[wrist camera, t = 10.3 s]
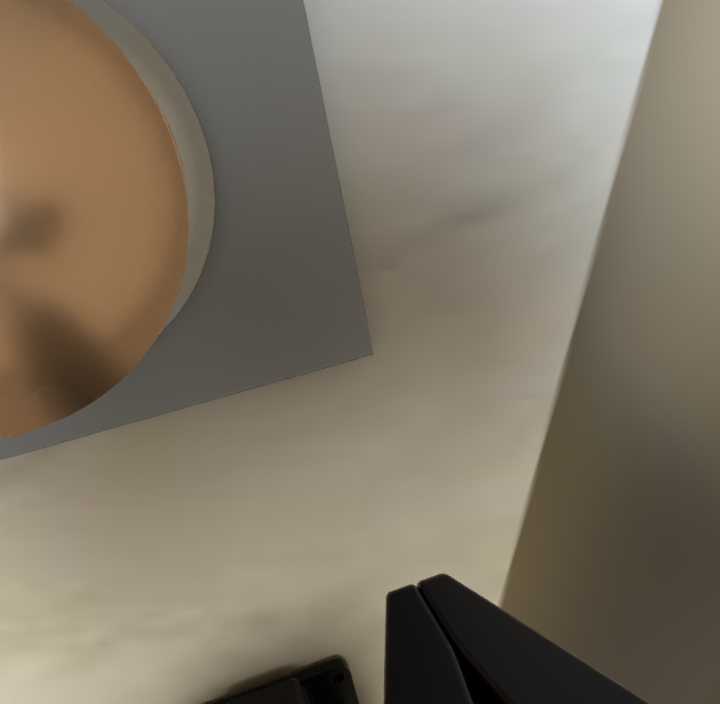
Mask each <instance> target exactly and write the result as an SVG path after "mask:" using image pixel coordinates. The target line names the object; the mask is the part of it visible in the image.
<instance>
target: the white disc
mask: <svg viewBox="0 0 720 704" xmlns="http://www.w3.org/2000/svg"><path fill="white" fill-rule="evenodd" d="M71 1H72V2H73V3H75V4H76V5H77V6H78V7H79V8H81V9H82V10H83V11H84V12H85V13H87V14H88V15H89V16H90V17H91V18H92V19H93V20H94V22H95V23H96V24H97V25H98V26H99V27H100V28H101V29H102V30H103V31H104V32H105V33H106V34H107V35H108V36H109V37H110V38H111V39H112V40H113V41H114V42H115V43H116V45H117V46H118V47H119V49H120V50H121V51H122V53H123V54H124V55H125V56H126V58H127V59H128V60H129V62H130V63H131V64H132V66H133V67H134V68H135V69H136V71H137V72H138V73H139V75H140V76H141V77H142V79H143V80H144V82H145V83H146V84H147V86H148V88H149V89H150V91H151V93H152V94H153V96H154V98H155V99H156V101H157V103H158V104H159V106H160V108H161V109H162V111H163V113H164V116H165V118H166V120H167V122H168V125H169V127H170V129H171V131H172V134H173V136H174V138H175V142H176V145H177V148H178V151H179V155H180V158H181V161H182V165H183V171H184V177H185V182H186V188H187V201H188V224H189V235H188V246H187V257H186V264H185V268H184V272H183V277H182V281H181V285H180V289H179V292H178V295H177V297H176V300H175V302H174V305H173V308H172V310H171V313H170V315H169V317H168V319H167V321H166V323H165V325H164V326H163V328H162V330H161V332H162V331H163V330H164V329H165V328H166V326H167V325H168V324H169V323H170V322H171V321H172V320H173V319H174V318H175V317H176V315H177V314H178V312H179V311H180V309H181V308H182V307H183V305H184V304H185V302H186V301H187V299H188V298H189V296H190V295H191V293H192V291H193V289H194V287H195V285H196V283H197V281H198V279H199V277H200V275H201V272H202V269H203V266H204V263H205V260H206V257H207V254H208V251H209V246H210V241H211V236H212V231H213V225H214V207H215V195H214V181H213V171H212V166H211V162H210V157H209V152H208V147H207V144H206V141H205V138H204V135H203V132H202V129H201V126H200V123H199V120H198V118H197V116H196V113H195V111H194V109H193V107H192V105H191V103H190V101H189V99H188V97H187V95H186V92H185V91H184V89H183V88H182V86H181V84H180V83H179V81H178V80H177V78H176V77H175V75H174V73H173V72H172V70H171V69H170V67H169V66H168V64H167V63H166V62H165V61H164V59H163V58H162V57H161V56H160V54H159V53H158V52H157V51H156V49H155V48H154V47H153V46H152V44H151V43H150V42H149V41H148V40H147V39H146V38H145V37H144V36H143V35H142V34H141V33H140V32H139V31H138V30H137V29H136V28H135V27H134V26H133V25H132V24H131V23H130V22H129V21H128V20H127V19H126V18H125V17H124V16H123V15H121V14H120V13H119V12H117V11H116V10H115V9H114V8H112V7H111V6H110V5H109V4H107V3H106V2H105V1H103V0H71ZM161 332H160V333H161ZM160 333H159V334H160Z"/></svg>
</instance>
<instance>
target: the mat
mask: <svg viewBox="0 0 720 704" xmlns="http://www.w3.org/2000/svg"><path fill="white" fill-rule="evenodd" d="M103 1H105V2H106V3H107V4H109V5H110V6H111V7H112V8H114V9H115V10H116V11H117V12H119V13H120V14H121V15H123V16H124V17H125V18H126V19H127V20H128V21H129V22H130V23H131V24H132V25H133V26H134V27H135V28H136V29H137V30H138V31H139V32H140V33H141V34H142V35H143V36H144V37H145V38H146V39H147V40H148V41H149V42H150V43H151V44H152V46H153V47H154V48H155V49H156V51H157V52H158V53H159V54H160V56H161V57H162V58H163V59H164V61H165V62H166V63H167V64H168V66H169V67H170V69H171V70H172V72H173V73H174V75H175V77H176V78H177V80H178V81H179V83H180V84H181V86H182V88H183V89H184V91H185V92H186V95H187V97H188V99H189V101H190V103H191V105H192V107H193V109H194V111H195V113H196V116H197V118H198V120H199V123H200V126H201V129H202V132H203V135H204V138H205V141H206V144H207V147H208V152H209V157H210V162H211V166H212V171H213V181H214V195H215V207H214V225H213V231H212V236H211V241H210V246H209V251H208V254H207V257H206V260H205V263H204V266H203V269H202V272H201V275H200V277H199V279H198V281H197V283H196V285H195V287H194V289H193V291H192V293H191V295H190V296H189V298H188V299H187V301H186V302H185V304H184V305H183V307H182V308H181V309H180V311H179V312H178V314H177V315H176V317H175V318H174V319H173V320H172V321H171V322H170V323H169V324H168V325H167V326H166V328H165V329H164V330H163V331H162V332H161V333H160V334H159V335H158V337H157V339H156V341H155V342H154V343H153V345H152V346H151V347H150V349H149V350H148V351H147V352H146V354H145V355H144V356H143V358H142V359H141V360H140V362H139V363H138V364H137V365H136V366H135V367H134V368H133V369H132V370H131V371H130V372H129V373H128V374H127V375H126V376H125V377H124V378H123V379H122V380H121V381H120V382H119V383H118V384H117V385H115V386H114V387H113V388H111V389H110V390H109V391H108V392H106V393H105V394H104V395H102V396H101V397H100V398H98V399H97V400H96V401H94V402H92V403H91V404H89V405H87V406H86V407H84V408H82V409H80V410H79V411H77V412H75V413H74V414H72V415H70V416H68V417H66V418H63V419H61V420H59V421H56V422H54V423H52V424H49V425H47V426H45V427H42V428H39V429H36V430H32V431H29V432H25V433H22V434H19V435H15V436H12V437H7V438H1V439H0V460H2V459H6V458H9V457H13V456H16V455H20V454H23V453H27V452H31V451H34V450H38V449H41V448H45V447H48V446H52V445H55V444H59V443H62V442H66V441H69V440H73V439H76V438H80V437H83V436H87V435H91V434H94V433H98V432H101V431H105V430H108V429H112V428H115V427H119V426H122V425H126V424H129V423H133V422H136V421H140V420H143V419H147V418H151V417H154V416H158V415H161V414H165V413H168V412H172V411H175V410H179V409H182V408H186V407H189V406H193V405H196V404H200V403H204V402H207V401H211V400H214V399H218V398H221V397H225V396H228V395H232V394H235V393H239V392H242V391H246V390H249V389H253V388H256V387H260V386H264V385H267V384H271V383H274V382H278V381H281V380H285V379H288V378H292V377H295V376H299V375H302V374H306V373H309V372H313V371H316V370H320V369H324V368H327V367H331V366H334V365H338V364H341V363H345V362H348V361H352V360H355V359H359V358H362V357H366V356H369V355H373V350H372V345H371V340H370V335H369V330H368V325H367V320H366V315H365V310H364V305H363V300H362V295H361V290H360V285H359V280H358V275H357V270H356V265H355V260H354V255H353V249H352V244H351V239H350V234H349V229H348V224H347V219H346V214H345V209H344V204H343V199H342V194H341V189H340V184H339V179H338V174H337V169H336V164H335V159H334V154H333V149H332V144H331V139H330V134H329V129H328V123H327V118H326V113H325V108H324V103H323V98H322V93H321V88H320V83H319V78H318V73H317V68H316V63H315V58H314V53H313V48H312V43H311V38H310V33H309V28H308V23H307V18H306V13H305V8H304V3H303V0H103Z"/></svg>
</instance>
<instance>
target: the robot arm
mask: <svg viewBox="0 0 720 704" xmlns="http://www.w3.org/2000/svg"><path fill="white" fill-rule="evenodd" d="M337 672H340V673H338V674H335V673H337ZM333 674H335V675H333ZM214 704H359V703H358V699H357V695H356V692H355V688H354V684H353V680H352V677H351V673H350V670H349V666H348V664H347V662H346V661H344V660H343V659H334V660H331V661H328V662H325V663H323V664H320V665H317V666H315V667H312V668H309V669H306V670H304V671H301V672H298V673H296V674H293V675H290V676H288V677H285V678H282V679H279V680H277V681H274V682H271V683H269V684H266V685H263V686H260V687H258V688H255V689H252V690H250V691H247V692H244V693H241V694H239V695H236V696H233V697H231V698H228V699H225V700H223V701H220V702H217V703H214ZM384 704H651V703H649V702H648V701H646V700H645V699H643V698H641V697H640V696H638V695H637V694H635V693H633V692H632V691H630V690H629V689H627V688H626V687H624V686H623V685H620V684H619V683H618V682H616V681H615V680H613V679H611V678H610V677H608V676H607V675H605V674H603V673H602V672H600V671H599V670H597V669H596V668H594V667H592V666H591V665H589V664H587V663H586V662H585V661H583V660H581V659H580V658H578V657H577V656H575V655H574V654H572V653H570V652H569V651H567V650H566V649H564V648H563V647H561V646H559V645H558V644H556V643H555V642H553V641H551V640H550V639H548V638H547V637H545V636H544V635H542V634H540V633H539V632H537V631H536V630H534V629H532V628H531V627H529V626H528V625H526V624H524V623H523V622H521V621H520V620H518V619H517V618H515V617H514V616H512V615H510V614H509V613H507V612H506V611H504V610H502V609H501V608H499V607H498V606H496V605H495V604H493V603H491V602H490V601H488V600H487V599H485V598H484V597H482V596H480V595H479V594H477V593H476V592H474V591H472V590H471V589H469V588H468V587H466V586H465V585H463V584H461V583H460V582H458V581H457V580H455V579H454V578H452V577H450V576H449V575H447V574H438V575H436V576H433V577H430V578H427V579H424V580H422V581H420V582H419V583H418V584H417V587H416V586H415V585H412V584H411V585H407V586H405V587H402V588H399V589H396V590H393V591H391V592H389V593H388V594H387V596H386V621H385V663H384Z"/></svg>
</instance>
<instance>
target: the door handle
mask: <svg viewBox="0 0 720 704" xmlns="http://www.w3.org/2000/svg"><path fill="white" fill-rule="evenodd" d="M188 235H189V224H188V201H187V188H186V182H185V177H184V171H183V165H182V161H181V158H180V155H179V151H178V148H177V145H176V142H175V138H174V136H173V134H172V131H171V129H170V127H169V125H168V122H167V120H166V118H165V116H164V113H163V111H162V109H161V108H160V106H159V104H158V103H157V101H156V99H155V98H154V96H153V94H152V93H151V91H150V89H149V88H148V86H147V84H146V83H145V82H144V80H143V79H142V77H141V76H140V75H139V73H138V72H137V71H136V69H135V68H134V67H133V66H132V64H131V63H130V62H129V60H128V59H127V58H126V56H125V55H124V54H123V53H122V51H121V50H120V49H119V47H118V46H117V45H116V43H115V42H114V41H113V40H112V39H111V38H110V37H109V36H108V35H107V34H106V33H105V32H104V31H103V30H102V29H101V28H100V27H99V26H98V25H97V24H96V23H95V22H94V20H93V19H92V18H91V17H90V16H89V15H88V14H87V13H85V12H84V11H83V10H82V9H81V8H79V7H78V6H77V5H76V4H75V3H73V2H72V1H71V0H0V439H1V438H7V437H12V436H15V435H19V434H22V433H25V432H29V431H32V430H36V429H39V428H42V427H45V426H47V425H49V424H52V423H54V422H56V421H59V420H61V419H63V418H66V417H68V416H70V415H72V414H74V413H75V412H77V411H79V410H80V409H82V408H84V407H86V406H87V405H89V404H91V403H92V402H94V401H96V400H97V399H98V398H100V397H101V396H102V395H104V394H105V393H106V392H108V391H109V390H110V389H111V388H113V387H114V386H115V385H117V384H118V383H119V382H120V381H121V380H122V379H123V378H124V377H125V376H126V375H127V374H128V373H129V372H130V371H131V370H132V369H133V368H134V367H135V366H136V365H137V364H138V363H139V362H140V360H141V359H142V358H143V356H144V355H145V354H146V352H147V351H148V350H149V349H150V347H151V346H152V345H153V343H154V342H155V341H156V339H157V337H158V335H159V333H160V332H161V330H162V328H163V326H164V325H165V323H166V321H167V319H168V317H169V315H170V313H171V310H172V308H173V305H174V302H175V300H176V297H177V295H178V292H179V289H180V285H181V281H182V277H183V272H184V268H185V264H186V257H187V246H188Z"/></svg>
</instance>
